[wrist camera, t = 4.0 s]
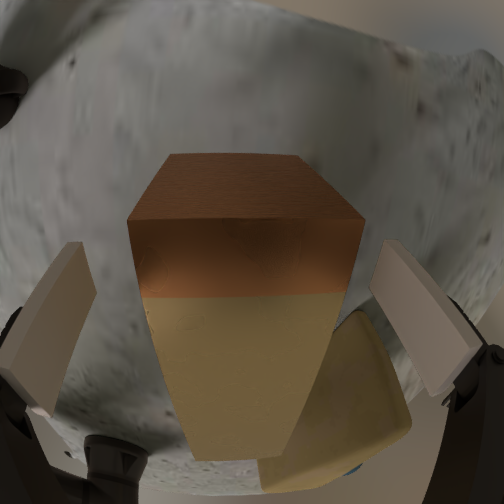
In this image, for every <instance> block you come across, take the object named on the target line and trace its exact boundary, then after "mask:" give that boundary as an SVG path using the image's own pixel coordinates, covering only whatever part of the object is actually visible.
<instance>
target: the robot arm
mask: <svg viewBox="0 0 504 504" xmlns="http://www.w3.org/2000/svg"><path fill="white" fill-rule="evenodd" d="M369 289H370V291H371V292H372V294H373V295H374V297H375V299H376V300H377V302H378V303H379V305H380V307H381V308H382V310H383V312H384V313H385V315H386V317H387V318H388V320H389V322H390V323H391V325H392V327H393V329H394V330H395V332H396V334H397V335H398V337H399V339H400V341H401V342H402V344H403V346H404V348H405V350H406V351H407V353H408V355H409V357H410V359H411V361H412V362H413V364H414V366H415V368H416V370H417V372H418V374H419V376H420V377H421V379H422V381H423V383H424V385H425V387H426V389H427V391H428V393H429V395H430V397H432V396H435V395H438V394H440V393H443V392H445V391H446V389H447V388H448V387H449V386H450V385H451V384H452V383H454V385H455V388H454V390H453V391H452V392H451V393H450V394H449V395H448V396H447V397H446V398H445V399H444V400H443V402H442V404H441V405H443V406H444V405H445V404H446V403H447V401H448V400H449V399H450V403H449V404H448V405H447V407H448V408H449V411H448V416H447V421H446V425H445V430H444V434H443V439H442V443H441V447H440V451H439V454H438V458H437V461H436V465H435V468H434V471H433V474H432V477H431V480H430V483H429V486H428V489H427V492H426V494H425V497H424V500H423V502H422V504H504V349H503V348H502V347H500V346H499V345H495V344H492V345H488V344H487V343H486V341H485V340H484V338H483V337H482V336H481V334H480V333H479V331H478V330H477V329H476V327H475V326H474V325H473V323H472V322H471V321H470V320H469V318H468V317H467V315H466V314H465V313H463V312H464V311H463V310H462V309H461V308H460V306H459V305H458V304H457V303H456V302H455V301H454V300H452V299H451V298H450V297H449V296H447V295H446V294H445V293H444V292H443V290H442V289H441V288H440V287H439V286H438V284H437V283H436V282H435V281H434V280H433V279H432V277H431V276H430V275H429V274H428V273H427V272H426V270H425V269H424V268H423V267H422V266H421V265H420V264H419V263H418V261H417V260H416V259H415V258H414V257H413V256H412V255H411V254H410V253H409V252H408V250H407V249H406V248H405V247H404V246H403V245H402V244H401V243H400V242H399V241H398V240H396V239H384V242H383V245H382V248H381V252H380V255H379V258H378V261H377V264H376V267H375V270H374V273H373V276H372V279H371V282H370V285H369ZM96 294H97V292H96V288H95V285H94V282H93V279H92V276H91V272H90V269H89V265H88V262H87V258H86V255H85V251H84V247H83V243H82V242H67V244H66V245H65V246H64V248H63V249H62V250H61V252H60V253H59V254H58V256H57V257H56V258H55V260H54V261H53V263H52V264H51V265H50V267H49V268H48V270H47V271H46V273H45V274H44V276H43V277H42V278H41V280H40V281H39V283H38V284H37V286H36V288H35V289H34V291H33V292H32V294H31V295H30V297H29V299H28V300H27V302H26V303H25V305H24V307H19V308H18V309H17V310H16V311H15V312H14V313H13V314H12V315H11V317H10V318H9V320H8V322H7V323H6V325H5V328H4V329H3V331H2V332H1V336H0V504H138V489H139V480H140V478H141V476H142V474H143V471H144V469H145V467H146V465H147V461H148V454H147V452H146V451H145V450H143V449H141V448H139V447H137V446H135V445H132V444H130V443H127V442H124V441H120V440H117V439H112V438H108V437H102V436H87V437H86V438H85V441H84V452H85V457H86V462H87V467H88V473H87V479H84V478H81V477H79V476H76V475H73V474H70V473H68V472H66V471H63V470H61V469H58V468H55V467H53V466H51V465H49V463H48V461H47V459H46V457H45V454H44V452H43V450H42V448H41V445H40V443H39V441H38V438H37V436H36V434H35V431H34V429H33V426H32V423H31V421H30V418H29V416H28V415H27V413H26V412H25V410H26V407H27V405H28V406H29V407H30V408H31V409H32V410H33V411H34V412H35V413H36V414H39V415H43V416H46V417H50V418H52V417H53V413H54V409H55V406H56V402H57V399H58V395H59V392H60V389H61V386H62V382H63V379H64V376H65V373H66V370H67V367H68V364H69V361H70V359H71V356H72V353H73V350H74V348H75V345H76V342H77V340H78V337H79V334H80V332H81V329H82V327H83V324H84V322H85V320H86V317H87V315H88V312H89V310H90V308H91V305H92V303H93V301H94V298H95V296H96Z"/></svg>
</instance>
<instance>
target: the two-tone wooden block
mask: <svg viewBox="0 0 504 504" xmlns="http://www.w3.org/2000/svg"><path fill="white" fill-rule="evenodd" d="M127 225H128V231H129V237H130V243H131V249H132V254H133V260H134V265H135V270H136V275H137V279H138V284H139V289H140V293H141V297H142V302H143V306H144V310H145V314H146V318H147V322H148V326H149V329H150V333H151V337H152V340H153V344H154V347H155V351H156V354H157V358H158V361H159V364H160V367H161V371H162V374H163V377H164V380H165V383H166V386H167V389H168V392H169V395H170V397H171V400H172V403H173V406H174V409H175V411H176V414H177V417H178V419H179V422H180V424H181V427H182V430H183V432H184V435H185V437H186V439H187V442H188V444H189V447H190V449H191V451H192V454H193V456H194V458H195V461H230V460H247V459H260V458H269V457H278V456H281V454H282V452H283V450H284V448H285V446H286V444H287V442H288V440H289V438H290V436H291V434H292V432H293V430H294V427H295V425H296V423H297V421H298V419H299V416H300V414H301V412H302V410H303V407H304V405H305V403H306V400H307V398H308V396H309V393H310V391H311V389H312V386H313V384H314V381H315V379H316V376H317V374H318V371H319V369H320V366H321V363H322V361H323V358H324V355H325V353H326V350H327V347H328V345H329V342H330V339H331V336H332V333H333V330H334V328H335V325H336V322H337V319H338V316H339V313H340V310H341V307H342V303H343V300H344V297H345V294H346V291H347V287H348V284H349V281H350V277H351V274H352V270H353V267H354V263H355V260H356V256H357V252H358V248H359V245H360V241H361V237H362V233H363V229H364V225H365V219H364V218H363V217H362V216H361V215H360V214H359V213H358V212H357V211H356V210H355V209H354V208H353V207H352V206H351V205H350V204H349V203H348V202H347V201H346V200H345V199H344V198H343V197H342V196H341V195H340V194H339V193H338V192H337V191H336V190H335V189H334V188H333V187H332V186H331V185H330V184H328V183H327V182H326V181H325V180H324V179H323V178H322V177H321V176H320V175H319V174H318V173H317V172H315V171H314V170H313V169H312V168H311V167H310V166H309V165H308V164H307V163H305V162H304V161H303V160H302V159H301V158H300V157H299V156H297V155H280V154H255V153H186V154H170V155H169V157H168V158H167V160H166V161H165V162H164V164H163V165H162V167H161V168H160V170H159V171H158V172H157V174H156V175H155V177H154V178H153V180H152V181H151V183H150V184H149V186H148V187H147V189H146V190H145V192H144V193H143V195H142V197H141V198H140V200H139V201H138V203H137V204H136V206H135V208H134V209H133V211H132V212H131V214H130V216H129V217H128V219H127Z"/></svg>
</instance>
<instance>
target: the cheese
mask: <svg viewBox="0 0 504 504" xmlns="http://www.w3.org/2000/svg"><path fill="white" fill-rule="evenodd" d="M411 426H412V419H411V416H410V413H409V410H408V407H407V404H406V401H405V398H404V395H403V392H402V389H401V386H400V383H399V380H398V378H397V375H396V372H395V369H394V367H393V364H392V362H391V359H390V357H389V355H388V353H387V351H386V349H385V347H384V345H383V343H382V341H381V339H380V337H379V336H378V334H377V332H376V330H375V329H374V327H373V325H372V323H371V322H370V320H369V318H368V316H367V315H366V313H365V312H362V311H354V312H353V313H351V314H350V315H349V316H348V317H347V318H346V319H345V320H344V322H343V323H342V324H341V325H340V326H339V327H338V328H337V329H336V330H335V331H334V332H333V333H332V336H331V339H330V342H329V345H328V347H327V350H326V353H325V355H324V358H323V361H322V363H321V366H320V369H319V371H318V374H317V376H316V379H315V381H314V384H313V386H312V389H311V391H310V393H309V396H308V398H307V400H306V403H305V405H304V407H303V410H302V412H301V414H300V416H299V419H298V421H297V423H296V425H295V427H294V430H293V432H292V434H291V436H290V438H289V440H288V442H287V444H286V446H285V448H284V450H283V452H282V454H281V456H278V457H269V458H260V459H257V465H258V471H259V477H260V483H261V488H262V490H263V491H264V492H267V493H280V492H290V491H298V490H306V489H312V488H317V487H320V486H322V485H324V484H327V483H328V482H330V481H332V480H334V479H336V478H338V477H340V476H342V475H344V474H346V473H347V472H349V471H351V470H352V469H354V468H355V467H357V466H358V465H360V464H361V463H363V462H364V461H366V460H368V459H369V458H371V457H372V456H374V455H375V454H377V453H378V452H380V451H382V450H383V449H385V448H387V447H388V446H390V445H392V444H393V443H395V442H397V441H398V440H399V439H401V438H402V437H403V436H404V435H406V434H407V433H408V431H409V430H410V428H411Z"/></svg>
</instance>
